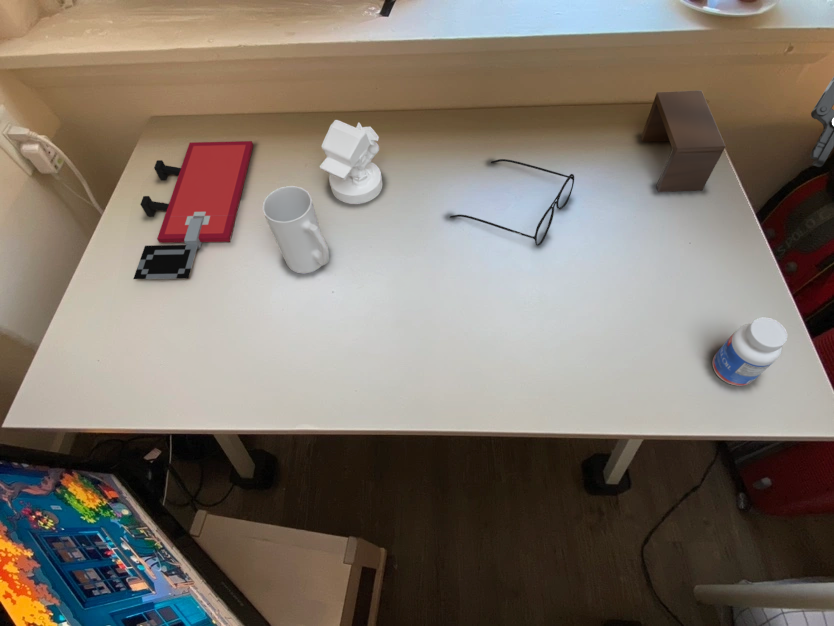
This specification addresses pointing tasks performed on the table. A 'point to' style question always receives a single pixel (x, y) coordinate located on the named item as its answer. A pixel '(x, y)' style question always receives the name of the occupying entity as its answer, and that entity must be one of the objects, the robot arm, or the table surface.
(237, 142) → the red board with handle
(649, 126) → the walnut shelf
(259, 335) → the table surface
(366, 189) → the character figurine
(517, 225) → the table surface
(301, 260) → the mug
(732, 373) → the pill bottle
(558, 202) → the glasses
